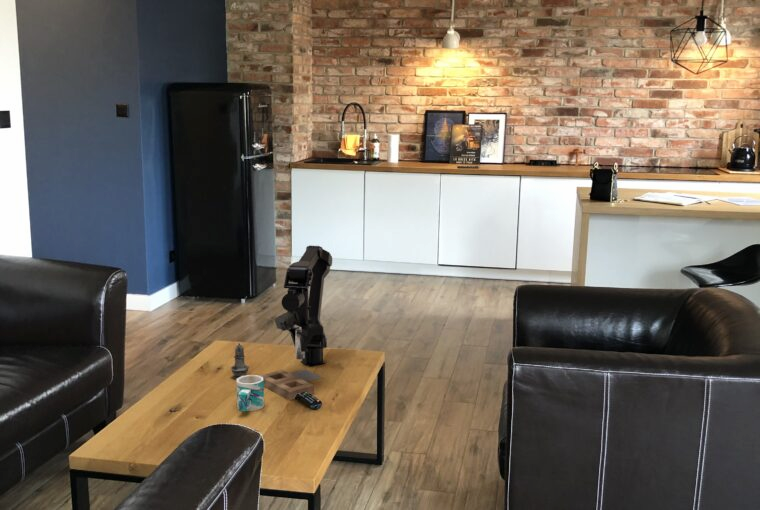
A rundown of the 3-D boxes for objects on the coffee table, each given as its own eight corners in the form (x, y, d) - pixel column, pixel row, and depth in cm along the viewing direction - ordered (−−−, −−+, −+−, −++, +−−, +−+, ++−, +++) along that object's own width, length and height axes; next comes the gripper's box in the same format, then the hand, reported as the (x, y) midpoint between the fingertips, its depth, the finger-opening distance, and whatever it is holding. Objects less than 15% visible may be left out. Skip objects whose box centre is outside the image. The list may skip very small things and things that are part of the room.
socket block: (258, 384, 260) (258, 375, 259) (282, 378, 265) (282, 369, 265) (289, 401, 246) (289, 391, 246) (314, 394, 252) (313, 385, 251)
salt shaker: (251, 375, 268) (250, 340, 266) (246, 381, 262) (245, 346, 260) (233, 374, 269) (232, 339, 266) (228, 380, 263) (227, 345, 261)
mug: (267, 401, 246) (266, 375, 244) (256, 416, 234) (256, 389, 233) (241, 400, 247) (240, 373, 245) (229, 415, 235) (228, 388, 234)
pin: (301, 355, 266) (301, 327, 264) (306, 358, 263) (306, 329, 261) (293, 357, 264) (293, 329, 262) (298, 359, 261) (298, 331, 260)
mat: (305, 370, 273) (305, 369, 273) (322, 378, 266) (322, 377, 266) (280, 376, 267) (280, 375, 267) (297, 385, 260) (297, 384, 260)
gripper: (262, 301, 262) (263, 348, 265) (294, 313, 248) (295, 362, 251) (291, 296, 269) (292, 341, 272) (324, 308, 255) (324, 355, 258)
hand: (300, 350), depth 263 cm, fingers closed on pin, 3 cm apart
